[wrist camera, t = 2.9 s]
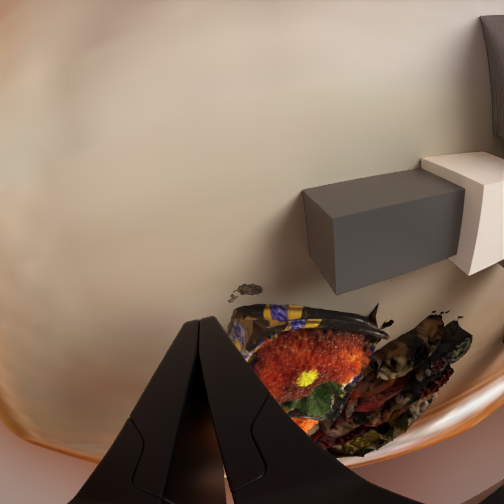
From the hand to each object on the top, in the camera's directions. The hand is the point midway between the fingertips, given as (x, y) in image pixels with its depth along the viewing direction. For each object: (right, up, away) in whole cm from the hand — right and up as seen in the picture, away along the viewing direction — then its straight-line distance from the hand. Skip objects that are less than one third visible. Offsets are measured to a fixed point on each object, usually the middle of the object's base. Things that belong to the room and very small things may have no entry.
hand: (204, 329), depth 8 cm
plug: (+9, +5, +5) cm, 11 cm away
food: (+7, -8, +12) cm, 16 cm away
